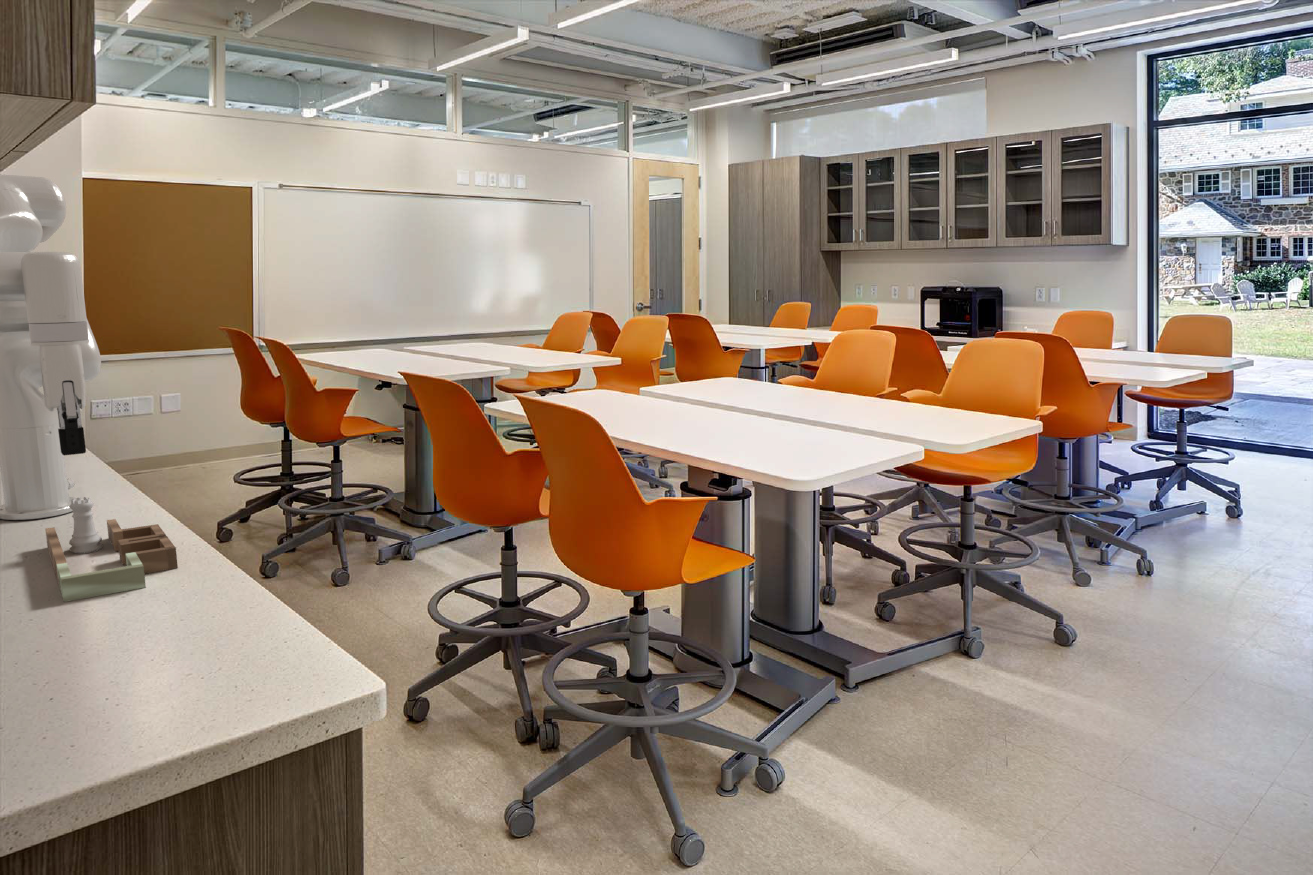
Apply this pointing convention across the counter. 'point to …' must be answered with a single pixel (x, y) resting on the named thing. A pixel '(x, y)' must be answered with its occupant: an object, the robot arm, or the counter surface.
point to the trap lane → (136, 549)
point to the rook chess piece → (84, 528)
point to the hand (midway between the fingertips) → (73, 453)
